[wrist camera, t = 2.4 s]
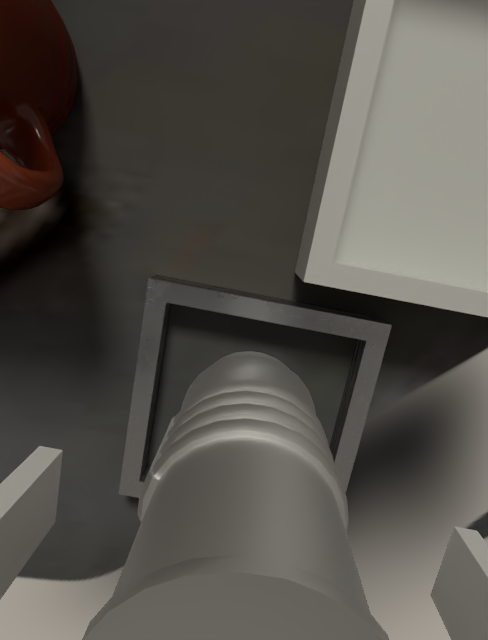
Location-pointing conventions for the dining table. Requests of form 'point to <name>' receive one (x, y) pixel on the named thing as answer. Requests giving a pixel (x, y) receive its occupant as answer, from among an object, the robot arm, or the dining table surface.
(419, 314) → the dining table surface
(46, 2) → the mug
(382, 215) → the bin
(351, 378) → the grey square frame
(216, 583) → the grey tall round piece
